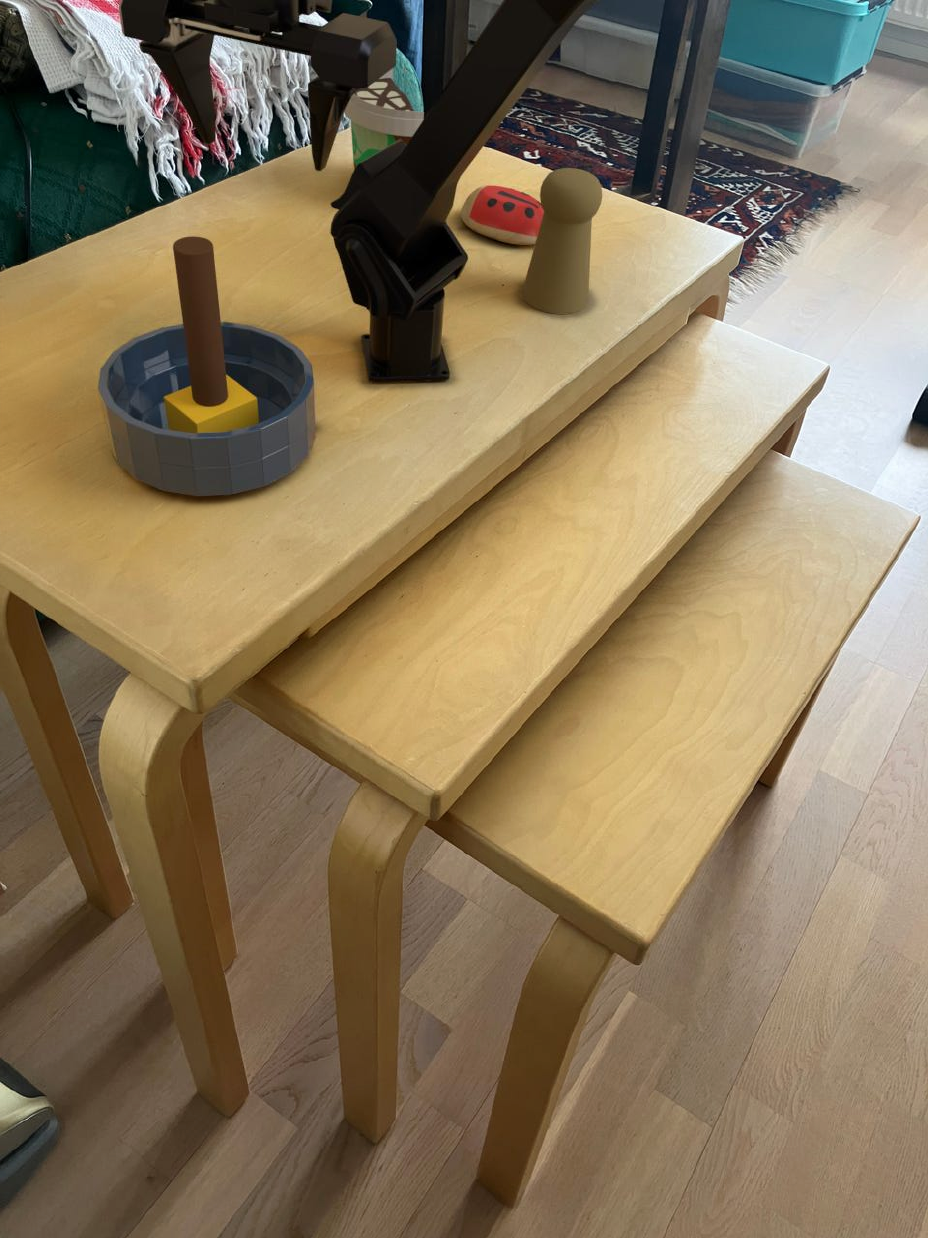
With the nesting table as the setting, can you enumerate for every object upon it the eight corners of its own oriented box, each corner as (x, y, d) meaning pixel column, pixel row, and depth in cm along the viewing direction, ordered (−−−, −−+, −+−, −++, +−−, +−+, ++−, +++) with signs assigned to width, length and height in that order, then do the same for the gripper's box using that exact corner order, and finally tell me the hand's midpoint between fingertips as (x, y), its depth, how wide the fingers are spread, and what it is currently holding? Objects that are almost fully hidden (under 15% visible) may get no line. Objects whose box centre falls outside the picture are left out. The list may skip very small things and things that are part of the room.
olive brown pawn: (510, 300, 91) (525, 176, 83) (538, 273, 95) (556, 152, 87) (572, 321, 89) (593, 196, 81) (598, 293, 93) (621, 171, 85)
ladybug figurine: (479, 205, 104) (482, 170, 101) (565, 233, 101) (571, 198, 99) (446, 228, 100) (448, 192, 97) (535, 258, 97) (540, 222, 94)
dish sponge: (227, 407, 75) (208, 222, 65) (260, 433, 73) (245, 246, 63) (168, 432, 72) (139, 243, 62) (200, 459, 70) (175, 268, 60)
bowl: (322, 500, 70) (320, 433, 66) (105, 510, 67) (90, 441, 63) (308, 383, 79) (306, 319, 75) (118, 388, 77) (105, 322, 73)
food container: (332, 170, 107) (330, 67, 100) (388, 167, 109) (391, 66, 101) (359, 223, 99) (359, 115, 92) (420, 219, 101) (425, 113, 93)
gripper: (431, -89, 69) (418, 145, 81) (187, -136, 73) (207, 96, 84) (366, -55, 62) (362, 199, 73) (97, -108, 65) (133, 142, 76)
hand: (264, 155), depth 77 cm, fingers open, 9 cm apart
